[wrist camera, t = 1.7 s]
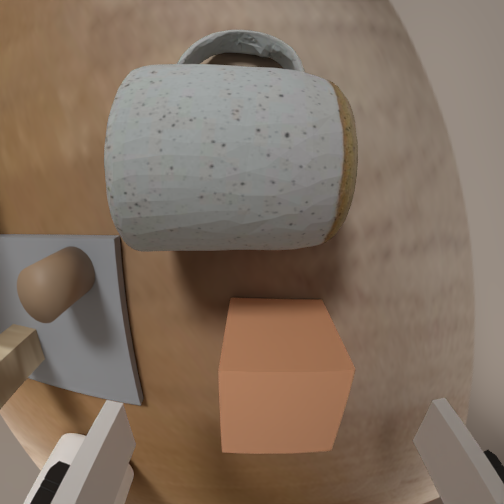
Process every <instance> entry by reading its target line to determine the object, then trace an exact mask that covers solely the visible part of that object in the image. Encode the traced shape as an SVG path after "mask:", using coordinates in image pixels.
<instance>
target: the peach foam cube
mask: <svg viewBox="0 0 504 504" xmlns="http://www.w3.org/2000/svg"><path fill="white" fill-rule="evenodd" d="M354 374H355V368H354V365H353V363H352V361H351V359H350V357H349V355H348V353H347V351H346V348H345V346H344V344H343V342H342V340H341V338H340V336H339V334H338V332H337V330H336V328H335V325H334V323H333V321H332V319H331V317H330V315H329V313H328V311H327V309H326V307H325V305H324V303H323V301H322V299H262V298H232V297H231V298H230V304H229V310H228V316H227V322H226V327H225V333H224V339H223V345H222V351H221V357H220V364H219V370H218V375H219V401H220V424H221V443H222V452H225V453H249V454H283V453H306V452H321V451H331V450H332V447H333V444H334V441H335V438H336V435H337V432H338V429H339V426H340V423H341V419H342V416H343V413H344V410H345V406H346V403H347V399H348V396H349V392H350V389H351V385H352V381H353V378H354Z"/></svg>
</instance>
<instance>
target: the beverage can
mask: <svg viewBox="0 0 504 504" xmlns="http://www.w3.org/2000/svg"><path fill="white" fill-rule="evenodd" d="M85 437H86V436H85V435H81V434H76V433H67V434H64V435H63V436H62V437H61V438H60V440H59V441H58V443H57V445H56V446H55V448H54V450H53V451H52V453H51V455H50V456H49V458H48V460H47V462H46V463H45V465H44V467H43V468H42V470H41V472H40V474H39V476H38V478H37V479H36V481H35V483H34V485H33V486H32V488H31V490H30V492H29V494H28V496H27V497H26V499H25V501H24V503H23V504H30V503H31V501H32V499H33V497H34V496H35V494H36V492H37V490H38V488H40V485H41V483H42V481H43V480H44V479H45V478H44V477H45V476H46V474H47V472H48V470H49V469H50V468H51V467H52V466H53V465H54V464H56V463H57V462H58V461H61V462H64V463H66V464H69V465H71V463H72V461H73V459H74V458H75V456H76V454H77V452H78V450H79V448H80V446H81V445H82V443H83V441H84V439H85ZM133 477H134V472H133V469H132V467H131V466H130V464H128V467H127V469H126V472H125V475H124V477H123V480H122V483H121V485H120V488H119V491H118V494H117V496H116V499H115V502H114V504H125V501H126V498H127V495H128V492H129V489H130V486H131V483H132V480H133Z"/></svg>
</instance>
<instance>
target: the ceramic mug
mask: <svg viewBox="0 0 504 504" xmlns="http://www.w3.org/2000/svg"><path fill="white" fill-rule="evenodd" d="M225 52H226V53H229V52H231V53H244V54H252V55H258V56H260V57H270V58H271V59H273V60H275V61H276V62H278V63H279V64H280V65H281V66H282V67H283V68H284V69H281V68H268V67H244V66H231V65H211V64H200V63H201V62H203V61H204V60H206V59H208V58H209V57H211V56H213V55H216V54H222V53H225ZM357 164H358V146H357V136H356V128H355V120H354V116H353V112H352V109H351V106H350V104H349V102H348V100H347V98H346V97H345V96H344V94H343V93H342V91H341V90H340V89H339V87H338V86H336V85H335V84H334V83H333V82H330V81H328V80H325V79H323V78H320V77H318V76H315V75H311V74H308V73H305V72H304V68H303V66H302V62H301V60H300V58H299V57H298V55H297V54H296V52H295V51H294V50H293V48H292V47H290V46H289V45H287V44H286V43H285V42H283V41H281V40H280V39H278V38H276V37H274V36H271V35H268V34H265V33H261V32H256V31H249V30H227V31H221V32H217V33H213V34H210V35H207V36H205V37H203V38H202V39H200V40H198V41H197V42H195V43H194V44H193V45H192V46H190V47H189V48H188V49H187V50H186V51H185V52H184V54H183V55H182V56H181V58H180V59H179V61H178V63H177V64H166V65H149V66H143V67H140V68H137V69H135V70H132V71H131V72H130V73H129V74H128V75H127V76H126V77H125V79H124V80H123V82H122V84H121V85H120V87H119V89H118V91H117V94H116V96H115V99H114V102H113V104H112V108H111V112H110V115H109V118H108V123H107V131H106V140H105V150H104V168H105V178H106V190H107V198H108V203H109V208H110V213H111V217H112V219H113V222H114V224H115V227H116V229H117V231H118V232H119V234H120V235H121V237H122V239H123V240H124V241H125V243H126V244H127V245H128V246H130V247H131V248H133V249H135V250H138V251H215V250H289V249H299V248H304V247H311V246H316V245H319V244H322V243H325V242H327V241H328V240H330V239H331V238H332V237H333V236H334V235H335V234H336V233H337V231H338V230H339V229H340V227H341V226H342V224H343V223H344V221H345V219H346V216H347V214H348V211H349V209H350V206H351V202H352V198H353V194H354V189H355V183H356V176H357Z"/></svg>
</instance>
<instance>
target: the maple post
mask: <svg viewBox="0 0 504 504" xmlns="http://www.w3.org/2000/svg"><path fill="white" fill-rule="evenodd" d="M44 360H45V357H44V354H43V351H42V348H41V344H40V341H39V338H38V334H37V331H36V329H33V328H29V327H25V326H20V325H16V324H12V325H11V326H10V327H9V328H7V329H6V330H5V331H4V332H2V333H1V334H0V409H1V408H2V407H3V405H4V404H5V403H6V402H7V401H8V400H9V398H10V397H11V396H12V395H13V394H14V393H15V392H16V390H17V389H18V388H19V387H20V386H21V385H22V384H23V382H24V381H25V380H26V379H27V378H28V377H29V376H30V375H31V374H32V373H33V371H34V370H35V369H36V368H37V367H38V366H39V365H40V364H41V363H42V362H43V361H44Z"/></svg>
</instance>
